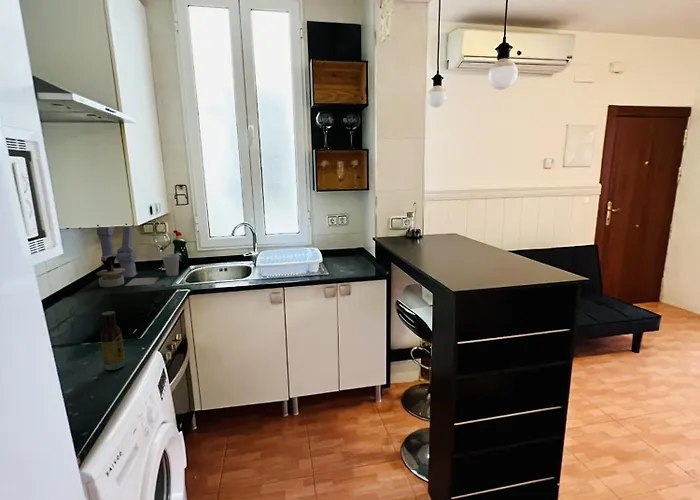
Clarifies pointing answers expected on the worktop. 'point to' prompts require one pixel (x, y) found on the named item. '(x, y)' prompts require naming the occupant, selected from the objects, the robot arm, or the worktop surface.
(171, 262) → the foam cup
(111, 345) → the sauce bottle
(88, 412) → the worktop surface
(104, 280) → the bowl
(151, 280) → the mat
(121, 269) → the lid
